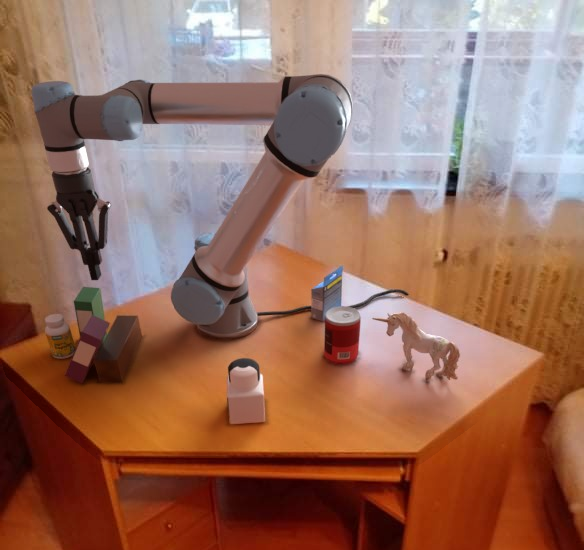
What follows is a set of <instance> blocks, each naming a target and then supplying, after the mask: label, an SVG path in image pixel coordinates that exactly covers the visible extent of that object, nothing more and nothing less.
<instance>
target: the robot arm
mask: <svg viewBox="0 0 584 550" xmlns="http://www.w3.org/2000/svg"><path fill="white" fill-rule="evenodd" d="M30 91H31V92H30V93H31V98H32V103H33V109H34V111H33V112H34V114H35V116H36V120H37V124H38V127H39V130H40V134H41V137H42V141H43V146H44V151H45V154H46V158H47V163H48V167H49V169H50V171H51V172H52V173H51V178H52V181H53V185H54V186H53V187H54V189H55V191H56V195H55V201H52V202H51V203H50V204H49V205H48V206H47V207H46V209H47V211H48V212H49V213H50V214H51V215H52V216H53V218H54V219H55V221H56V223H57V225H58V226H59V229H60V231H61V233H62V234H63V237H64V239H65V241H66V242H67V245H68V246H69V248H70V250H77V251H79V252H80V256H81V260H82V263H83V265H84V266H87V268H88V272H89V276H90V280H91V281H99V280H100V278H101V277H102V271H101V267H100V265H101V264H102V262H103V258H102V253H101V250H103V249H104V248H105V247H106V245H108V231H109V230H108V225H109V212H110V209H111V207H112V203H111V202H110V201H105V200H103V199H101V198H100V197H99V194H98V193H97V192H96V190H95V184H94V179H93V175H92V170H91V168H89V166H90V161H89V157H88V152H87V149H86V144H85V140H99V141H100V140H101V141H114V142H115V141H116V142H124V141H133V140H136V139H138V138H139V137H140V135H141V132H142V129H143V125H209V126H210V125H215V126H218V125H219V126H220V125H221V126H223V125H224V126H270V127H269V128H268V130H267V131H266V134H265V135H264V137H263V138H262V139H263V141H262V142H263V146H264V154H263V155H262V156H261V159H260V160H259V162H258V163H257V165H256V167H255V168H254V170H253V172H252V173H251V175H250V176H249V178H248V179H247V181H246V183H245V184H244V186H243V188H242V189H241V191H240V193H239V194H238V196H237V198H236V199H235V201H234V203H233V204H232V205H231V208H230V209H229V211H228V212H227V214H226V215H225V217H224V219H223V221H222V222H221V223H220V226H219V227H218V229H217V230H216V232H212V233H206V234H202V235H200V236H198V237H197V238H195V240H194V247H193V249H194V253H193V255H192V257H191V259H190V260H189V261H188V263H187V265H186V267H185V269H184V270H183V272H182V273H181V275H180V276H179V278H178V279H176V280H175V281H174V283H173V286H172V289H171V291H170V301H171V304H172V305H173V308H174V310H175V311H176V313H177V314H178V315H179V316H180V317H181V318H182V319H183V320H185V321H187V322H189V323H191V324H194V325H196V329H197V332H199V333H200V334H201V335H202V336H204V337H206V338H208V339H212V340H218V341H231V340H237V339H242V338H243V337H247V336H249V335H251V334H252V333H253V332H254V331H255V330H256V328H257V327H258V325H259V322H258V320H259V319H258V317H264V316H265V317H266V316H281V315H282V316H283V315H290V314H295V313H298V312H302V311H307V310H311V305H305V306H300V307H297V308H293V309H288V310H280V311H279V310H278V311H273V310H272V311H259V312H257V310H256V309H255V307H254V304H253V302H252V299H251V297H250V294H249V276H248V264H249V262H250V261H251V259H252V257H253V256H254V255H255V253H256V252H257V250H258V249H259V247H260V246H261V244H262V243H263V241H264V240H265V238H266V237H267V235H268V234H269V232H270V231H271V229H272V228H273V227H274V225H275V223H276V222H277V220H278V219H279V218H280V216H281V215H282V213H283V212H284V210H285V209H286V207H287V206H288V204H289V203H290V202H291V200H292V199H293V197H294V195H295V194H296V193H297V191H298V190H299V188H300V186H301V185H302V184H303V183H304V181H307V180H313V179H314V180H315V178H317V176H318V175H319V173H320V172H321V171H322V169H323V168H324V166H325V165H326V163H328V162H329V161H328V160H329V159H330V158H331V157H332V156H334V155H335V154H336V152H338V150H339V148H340V147H341V145H342V143H343V141H344V139H345V136H346V133H347V130H348V128H349V126H350V125H351V123H352V118H353V115H354V104H353V98H352V95H351V92H350V91H349V89H348V87H347V85H346V84H344V82H342V81H341V80H340V79H338V78H337V77H335V76H333V75H330V74H324V73H318V74H317V73H316V74H307V75H295V76H293V75H292V76H289V75H288V76H283V77H282V78H281V79H280V80H279V81H278V82H277V81H276V82H275V81H274V82H270V81H269V82H149V81H148V80H145V79H134V80H128V82H125V83H124V84H122V85H120V86H118V87H116V88H114V89H111V90H110V91H107V92H105V93H103V94H100V95H82V94H81V95H80V94H76V92H75V91H74V88H73V85H72V84H71V83H70V82H68V81H64V80H52V81H43V82H39V83H36V84H34V85H33V86H32V87H31V90H30ZM96 206H97V210H98V212H99V215H98V232H97V229H96V224H95V219H94V210H95V208H96ZM64 211H65V212H66V213H67V214H68V217H69V219H68V217H67V216H66V213H65V212H64ZM69 220H70V221H69ZM70 222H71V224H72V226H71V224H70ZM84 227H85V228H84ZM394 293H397V294H398V293H399V294H402V295H404V296H409V295H410V294H409V293H408V292H407V291H405V290H404V289H401V288H392V289H388V290H385V291H384V290H383V291H381V292H378V293H375V294H373V295H371V296H369V297H368V298H366V300H363V301H361V302H359V303H356V304H352V305H351V304H350V305H347V306H346V307H351V308H354V309H357V308H360V307H363V306H365V305H367V304H369V303H370V302H371V301H373V300H374V299H376V298H379V297H383V296H386V295H388V294H394Z"/></svg>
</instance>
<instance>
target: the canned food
mask: <svg viewBox="0 0 584 550" xmlns="http://www.w3.org/2000/svg"><path fill="white" fill-rule="evenodd" d="M361 318H362V316H361V312H360V311H359V310H358V309H357V308H351V307H346V306H345V305H344V306H343V305H341V306H340V307H334V308H331V309H329V310H328V311H327V312H326V314H325V320H324V341H323V342H324V343H323V346H324V347H323V349H324V350H323V353H324V357H325V359H326V360H327V362H329V363H332V364H334V365H341V366H342V365H348V364H352V363H354V362H355V361H356V360H357V358H358V356H359V347H360V334H361V322H362V321H361Z"/></svg>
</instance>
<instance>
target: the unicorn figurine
mask: <svg viewBox="0 0 584 550" xmlns="http://www.w3.org/2000/svg"><path fill="white" fill-rule="evenodd" d="M387 316H388V317H387V318H379V317H372V318H371V319H372V320H375V321H379V322H382V323H387V326H386V336H388V337H393V335H394V334H395V330H397V329H399V328H400V329H401V330H402V334H401V341H402V343H403V344H402V350H403V354H404V358H405V359H406V361H407V362H406V364H404V365H403V366H402V367H401V369H402V371H403V372H407V371H408V370H409V371H410V372H412V371H413V369H414V366H415V365H414V364H415V363H414V362H413V360H412V359H413V354H412V349H413V350H414V351H417V352H418V353H420V354H429V356H430V358H431V362H432V363H433V367H430V368H428V369H427V370H426V371H425V378H424V379H425V381H429V380H430V379H431V378H432V377H433V376H437V378H441V377H446V378H447V380H448V381H450V380H451V379H453V380H458V379H459V376H457V373H456V370H457V369H458V367H459V365H458V362H459V359H460V357H461V354H460V348H459V347H458V346H457V345H456V343H455V342H450V341H449V340H448V339H446V338H444V337H443V336H439V335H432V334H429V333H427V332H424V331H423V330H422V329H420V326H419V325H418V323H417V322H416V321H415V320H414V318H412V316H411V315H408V314H407V313H405V312H400V311H399V312H395V313H392V314H390V313H388V312H387ZM440 360H442V363H443V364H442V365H443V366H442V369H441V365H440ZM440 369H441V370H440ZM438 370H439V371H438ZM436 371H437V372H436ZM435 372H436V373H435Z"/></svg>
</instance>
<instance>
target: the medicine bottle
mask: <svg viewBox="0 0 584 550" xmlns="http://www.w3.org/2000/svg"><path fill="white" fill-rule="evenodd" d="M227 373H228V375H227V376H226V402H227V411H228V421H229V423H228V424H229V425H243V424H256V423H257V424H258V423H265V422H266V409H265V390H264V389H265V388H264V376H263V374H262V373H261V372H260V364H259V363H258V362H257V361H256V360H255V359H253V358H248V357H242V358H237V359H235V360H232V361H231V362H230V364H229V365H228V367H227Z"/></svg>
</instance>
